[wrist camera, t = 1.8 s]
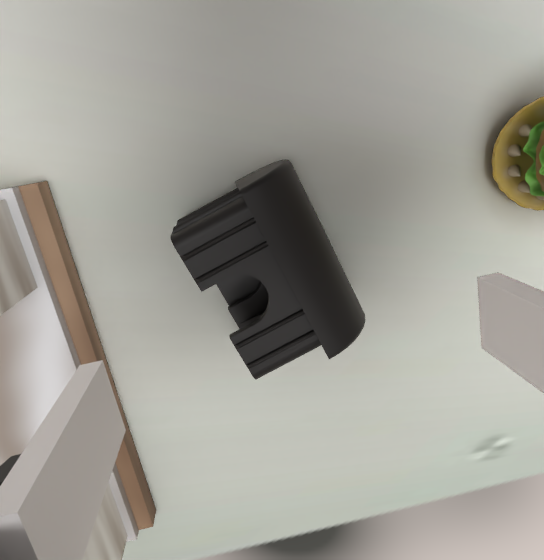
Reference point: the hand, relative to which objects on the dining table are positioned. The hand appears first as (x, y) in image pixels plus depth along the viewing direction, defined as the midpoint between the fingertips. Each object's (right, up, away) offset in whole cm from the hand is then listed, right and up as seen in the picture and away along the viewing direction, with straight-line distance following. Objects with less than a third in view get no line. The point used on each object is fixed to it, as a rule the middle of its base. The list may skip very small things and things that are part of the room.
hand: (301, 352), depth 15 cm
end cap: (-1, +4, +13) cm, 14 cm away
